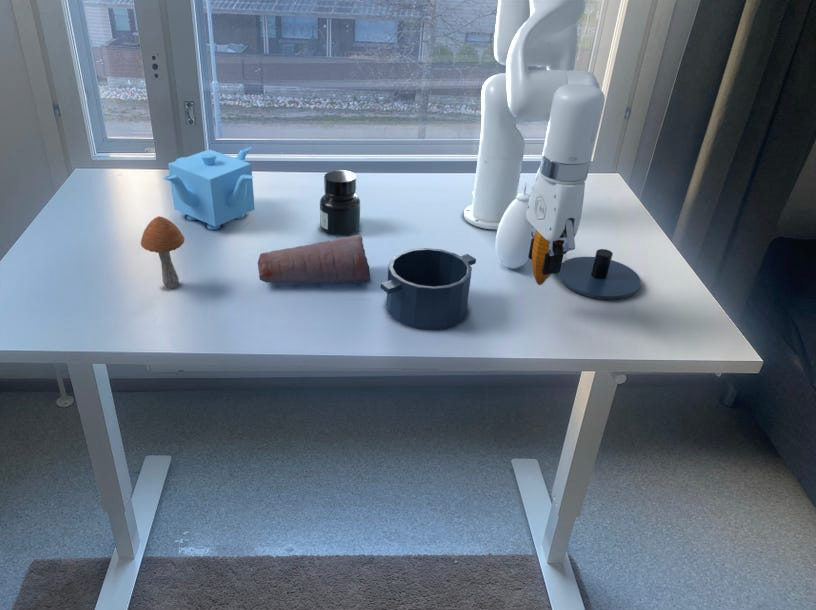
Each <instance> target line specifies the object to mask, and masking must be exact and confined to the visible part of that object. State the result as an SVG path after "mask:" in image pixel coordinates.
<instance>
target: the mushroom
mask: <svg viewBox="0 0 816 610" xmlns="http://www.w3.org/2000/svg"><path fill="white" fill-rule="evenodd" d="M185 239H186V238H185V235H183V233H182V231H181V230H180V228H179V227H178V226H177V225H176V224H175V223H173V222H172V221H171V220H169V219H168V218H166V217H163V216H160V215H158V216H156V217H154V218H153V219H152V220H151V221H150V222H149V223H148V224H147V226H146V227H145V229H144V231H143V232H142V236H141V240H140V246H141V247H142V248H143V249H144V250H146V251H149V252H150V253H156V254H158V257H159V260H160V265H161V277H162V284H163V285H164V287H165V288H166V289H169V290H170V289H171V290H172V289H175V288H177V287H178V286H179V280H180V277H179V275H178V273H177V271H176V268H175V266H174V264H173V261H172V257H171V253H170V252H172V251H176V250H177V249H179V248H180V247H182V245H184V243H185V241H186V240H185Z"/></svg>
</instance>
